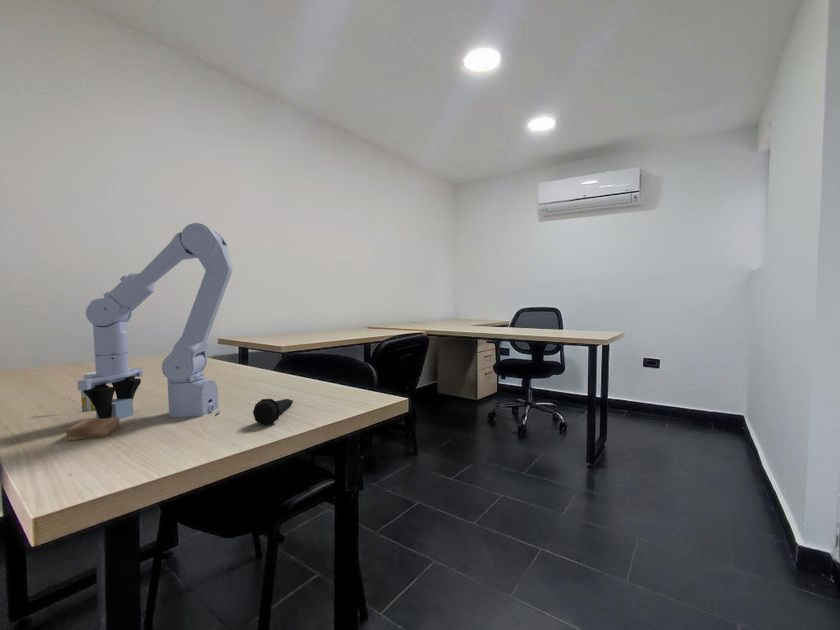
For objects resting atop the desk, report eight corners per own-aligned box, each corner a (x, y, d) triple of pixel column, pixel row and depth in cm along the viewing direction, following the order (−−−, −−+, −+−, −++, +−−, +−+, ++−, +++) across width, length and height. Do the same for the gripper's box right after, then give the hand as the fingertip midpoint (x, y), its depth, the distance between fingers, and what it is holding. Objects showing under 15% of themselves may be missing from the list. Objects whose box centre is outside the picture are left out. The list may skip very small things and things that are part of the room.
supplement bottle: (115, 407, 99) (113, 370, 98) (101, 413, 93) (99, 374, 93) (91, 409, 98) (89, 371, 97) (76, 415, 92) (74, 375, 92)
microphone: (285, 415, 99) (253, 431, 80) (278, 394, 100) (244, 405, 80) (305, 408, 100) (278, 422, 80) (298, 387, 100) (270, 396, 80)
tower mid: (119, 426, 78) (118, 416, 78) (106, 436, 72) (106, 425, 72) (82, 430, 76) (82, 420, 76) (67, 440, 70) (66, 429, 70)
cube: (133, 418, 87) (132, 398, 87) (116, 424, 82) (115, 404, 82) (114, 418, 87) (113, 398, 87) (96, 424, 83) (95, 404, 82)
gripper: (122, 349, 92) (125, 406, 92) (61, 359, 77) (66, 425, 78) (150, 349, 91) (153, 405, 92) (94, 358, 77) (98, 425, 77)
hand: (115, 415), depth 85 cm, fingers closed on cube, 4 cm apart
